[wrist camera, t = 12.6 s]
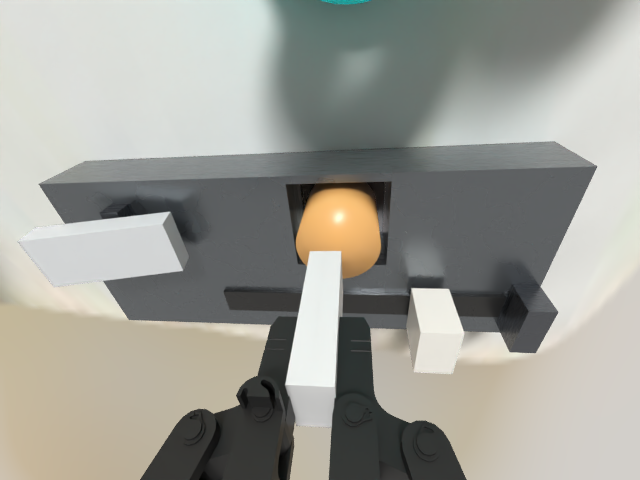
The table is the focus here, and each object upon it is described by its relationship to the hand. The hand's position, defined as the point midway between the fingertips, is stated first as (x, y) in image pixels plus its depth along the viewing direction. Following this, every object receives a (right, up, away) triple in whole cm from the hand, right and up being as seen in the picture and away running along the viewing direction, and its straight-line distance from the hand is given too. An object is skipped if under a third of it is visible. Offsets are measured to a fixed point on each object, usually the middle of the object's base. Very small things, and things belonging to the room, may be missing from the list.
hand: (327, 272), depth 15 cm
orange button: (+1, +4, +6) cm, 7 cm away
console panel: (-1, +2, +9) cm, 9 cm away
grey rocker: (-13, +1, +4) cm, 14 cm away
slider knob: (+7, -3, +6) cm, 10 cm away
